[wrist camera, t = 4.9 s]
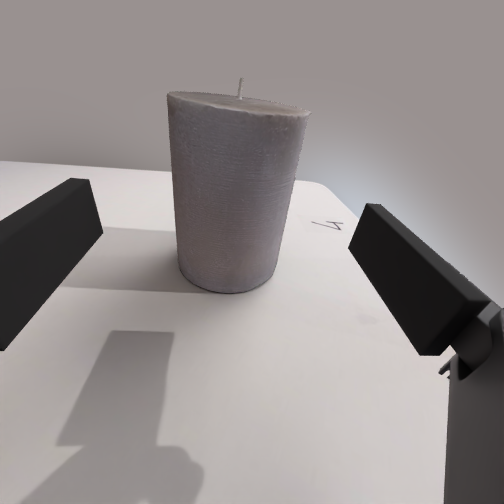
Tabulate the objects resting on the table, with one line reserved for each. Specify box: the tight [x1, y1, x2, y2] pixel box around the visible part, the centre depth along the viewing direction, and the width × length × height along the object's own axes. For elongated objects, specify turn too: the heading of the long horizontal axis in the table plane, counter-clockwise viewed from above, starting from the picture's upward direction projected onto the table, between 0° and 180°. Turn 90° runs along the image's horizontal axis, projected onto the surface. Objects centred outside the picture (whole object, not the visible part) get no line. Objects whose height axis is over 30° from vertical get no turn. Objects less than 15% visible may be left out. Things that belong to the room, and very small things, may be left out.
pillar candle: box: [167, 78, 311, 293], centre depth 20 cm, size 10×10×15 cm
